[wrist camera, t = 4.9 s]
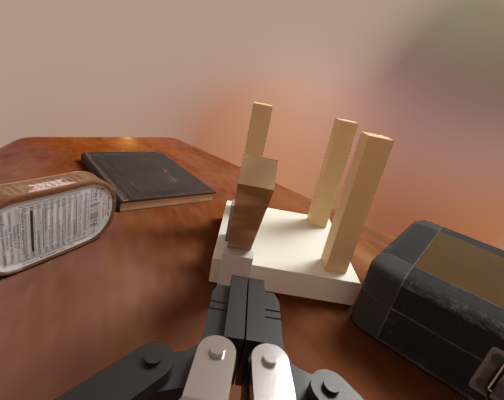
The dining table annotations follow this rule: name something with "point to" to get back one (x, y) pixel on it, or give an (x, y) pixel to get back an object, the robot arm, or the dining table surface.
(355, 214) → the stool
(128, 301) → the dining table surface
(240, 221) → the leg
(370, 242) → the dining table surface
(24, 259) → the tin
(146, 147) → the dining table surface
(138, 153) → the hardcover book
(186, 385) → the robot arm
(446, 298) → the cash box
